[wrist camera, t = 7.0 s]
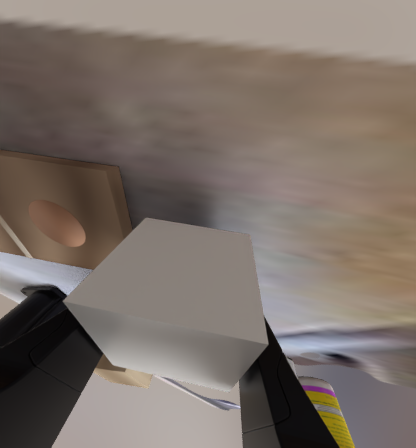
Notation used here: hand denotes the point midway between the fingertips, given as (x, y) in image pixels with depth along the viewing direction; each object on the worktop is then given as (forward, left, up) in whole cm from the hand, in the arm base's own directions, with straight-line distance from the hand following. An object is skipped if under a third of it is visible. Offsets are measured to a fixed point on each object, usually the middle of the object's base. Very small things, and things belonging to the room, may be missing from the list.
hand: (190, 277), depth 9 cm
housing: (0, 0, -1) cm, 1 cm away
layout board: (-16, +6, -4) cm, 17 cm away
